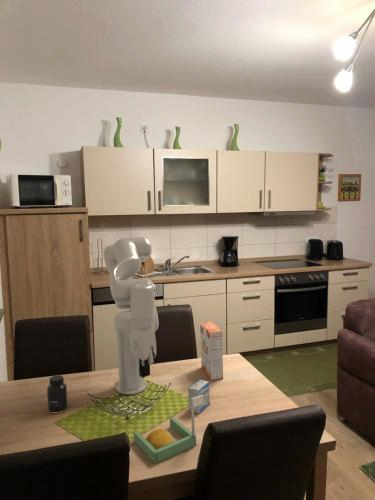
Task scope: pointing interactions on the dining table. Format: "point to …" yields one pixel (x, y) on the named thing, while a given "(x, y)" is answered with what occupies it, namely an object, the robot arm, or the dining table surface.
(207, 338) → the cracker box
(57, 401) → the supplement bottle
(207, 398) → the medicine box
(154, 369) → the dining table surface
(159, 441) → the bread roll
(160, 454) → the green u-shaped frame
